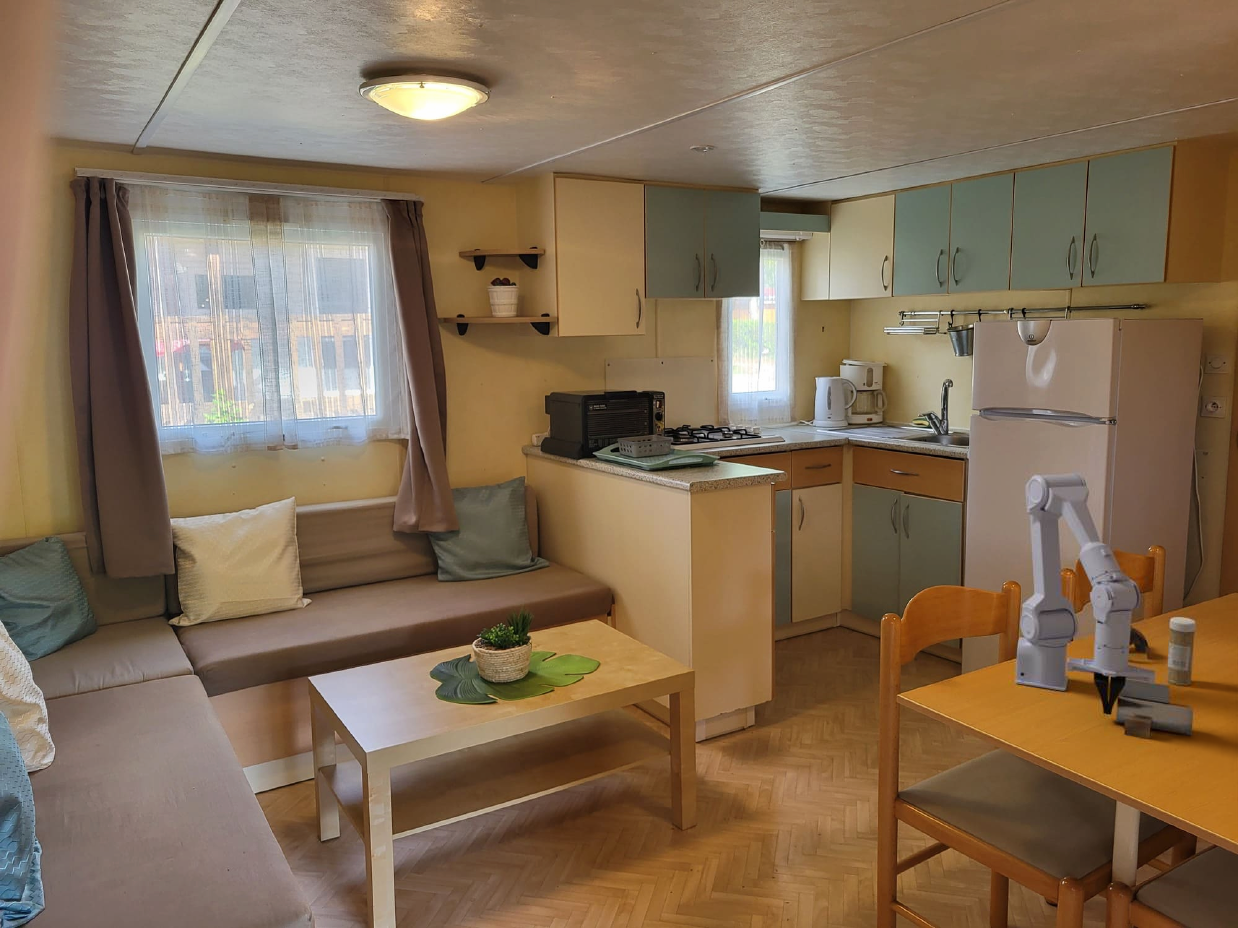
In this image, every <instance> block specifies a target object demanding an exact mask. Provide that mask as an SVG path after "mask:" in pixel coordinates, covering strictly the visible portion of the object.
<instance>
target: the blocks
mask: <svg viewBox="0 0 1238 928" xmlns="http://www.w3.org/2000/svg"><path fill="white" fill-rule="evenodd" d="M1150 723H1151V719H1146V718H1140V717H1134V716H1128V715H1126V716H1125V724H1124V731H1123V732H1124V735H1126V736H1132V737H1137V738H1143V739H1148V740H1149V739H1150V736H1151V735H1150V734H1151V728H1150Z"/></svg>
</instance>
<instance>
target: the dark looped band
mask: <svg viewBox="0 0 1238 928" xmlns="http://www.w3.org/2000/svg"><path fill="white" fill-rule="evenodd" d="M1132 645H1134V649H1135V650H1134V651H1135V652H1142V653H1145V654H1146V659H1147V660H1150V659H1151V653H1150V647H1149V644H1148V640H1147V639H1146V637H1145V635H1144V633H1142V631H1140V630H1138V629H1137V628H1135V627H1133V625H1132V624H1131V629H1130V643H1129V647H1130V646H1132Z"/></svg>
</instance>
